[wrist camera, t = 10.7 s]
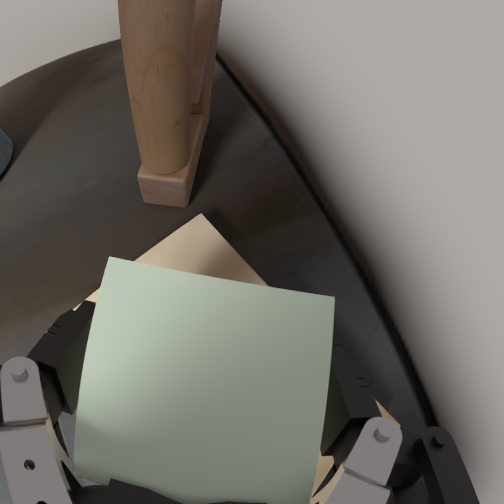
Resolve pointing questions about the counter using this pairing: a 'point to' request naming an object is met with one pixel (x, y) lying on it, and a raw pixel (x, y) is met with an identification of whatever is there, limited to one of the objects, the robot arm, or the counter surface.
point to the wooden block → (169, 89)
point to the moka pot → (5, 150)
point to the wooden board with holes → (212, 275)
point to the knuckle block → (203, 387)
